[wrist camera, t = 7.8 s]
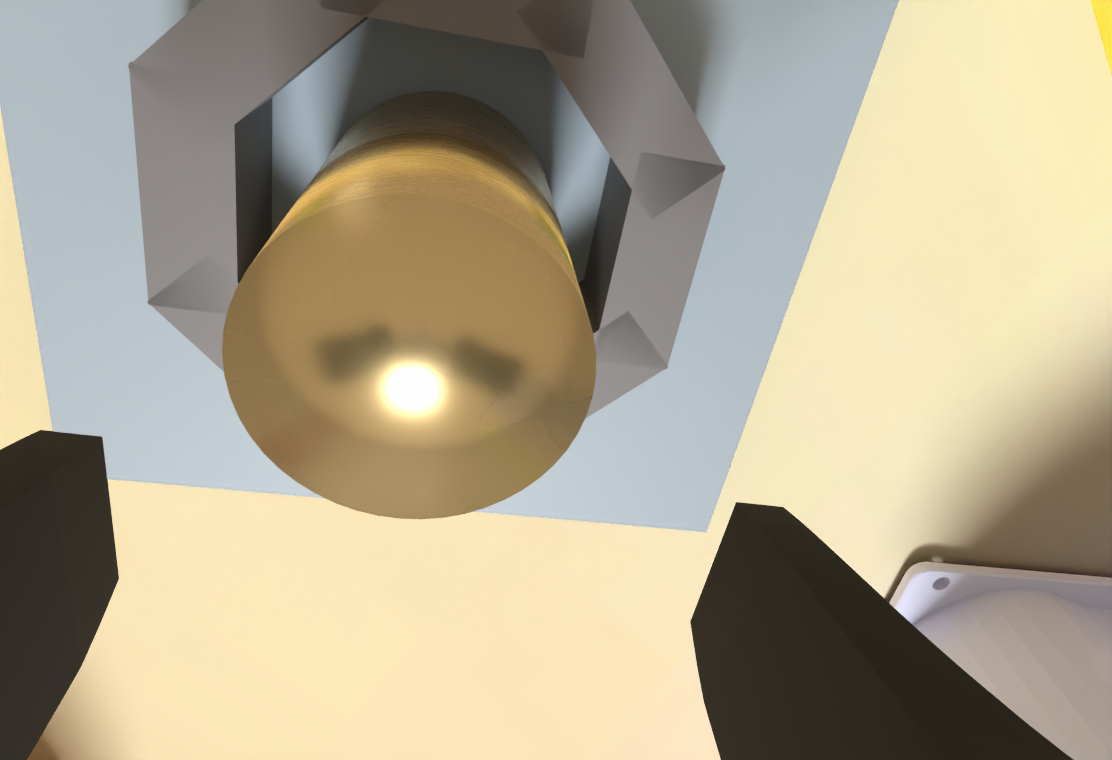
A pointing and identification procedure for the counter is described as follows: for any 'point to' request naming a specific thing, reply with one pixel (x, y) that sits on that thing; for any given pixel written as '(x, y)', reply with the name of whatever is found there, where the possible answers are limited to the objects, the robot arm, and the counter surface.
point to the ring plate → (323, 119)
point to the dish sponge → (1104, 25)
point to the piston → (415, 318)
